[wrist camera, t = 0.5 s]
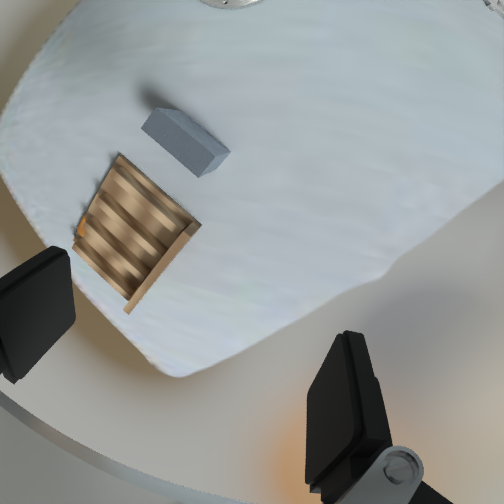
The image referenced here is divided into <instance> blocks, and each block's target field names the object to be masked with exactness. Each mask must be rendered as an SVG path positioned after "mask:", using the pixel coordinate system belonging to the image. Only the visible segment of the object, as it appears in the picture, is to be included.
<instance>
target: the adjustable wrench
mask: <svg viewBox="0 0 504 504" xmlns="http://www.w3.org/2000/svg"><path fill="white" fill-rule="evenodd" d="M484 2H485V3H486V4H487V7H488V8H490V9H491V10H492V11H495V12H497V13H498V14H499V15H500V16H501V17H502V18H503V19H504V0H484Z"/></svg>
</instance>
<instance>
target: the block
mask: <svg viewBox="0 0 504 504" xmlns="http://www.w3.org/2000/svg"><path fill="white" fill-rule="evenodd" d="M141 129H142V130H143V131H144V132H146V133H147V134H148V135H149V136H150V137H151V138H153V139H154V140H155V141H156V142H157V143H159V144H160V145H161V146H162V147H163V148H164V149H166V150H167V151H168V152H169V153H170V154H171V155H173V156H174V157H175V158H176V159H177V160H178V161H179V162H181V163H182V164H183V165H184V166H185V167H186V168H188V169H189V170H190V171H191V172H192V173H193V174H194V175H196V176H197V177H198V178H199V177H201V176H203V175H205V174H207V173H209V172H211V171H213V170H215V169H217V167H218V166H219V165H220V164H221V163H222V162H223V160H224V159H225V158H226V157H227V156H228V155H229V154H230V151H229V150H228V149H227V148H226V147H225V146H223V145H222V144H221V143H220V142H219V141H217V140H216V139H215V138H214V137H213V136H212V135H210V134H209V133H208V132H207V131H206V130H204V129H203V128H202V127H201V126H200V125H198V124H197V123H196V122H195V121H193V120H192V119H191V118H190V117H189V116H187V115H186V114H185V113H184V112H182V111H180V110H173V109H166V108H158V107H156V108H155V109H154V111H153V112H152V113H151V115H150V116H149V117H148V119H147V120H146V122H145V123H144V125H143V126H142V127H141Z"/></svg>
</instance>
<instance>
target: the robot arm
mask: <svg viewBox="0 0 504 504" xmlns="http://www.w3.org/2000/svg"><path fill="white" fill-rule="evenodd" d="M201 1H202V2H204V3H205V4H207V5H210V6H213V7H216V8H222V9H237V8H243V7H248V6H251V5H254V4H256V3H259V2H261V1H262V0H201ZM226 3H227V4H226ZM75 318H76V314H75V306H74V298H73V289H72V279H71V266H70V257H69V256H68V253H67V251H66V250H65V249H62V248H59V247H56V246H50V247H49V248H47V249H45V250H44V251H42V252H40V253H39V254H37V255H35V256H34V257H33V258H31V259H29V260H27V261H26V262H24V263H23V264H21V265H20V266H18V267H16V268H15V269H13V270H12V271H10V272H9V273H7V274H6V275H4V276H3V277H1V278H0V374H1V373H3V375H4V377H5V378H6V379H7V380H9V381H10V382H11V383H13V384H15V383H16V382H17V381H18V380H19V379H22V378H23V377H24V376H25V375H26V374H27V373H28V372H29V370H30V369H31V368H32V367H33V366H34V365H35V364H36V363H37V362H38V361H39V360H40V359H41V357H42V356H43V355H44V354H45V353H46V352H47V351H48V350H49V349H50V348H51V347H52V345H54V343H55V342H56V341H57V340H58V339H59V338H60V337H61V336H62V335H63V334H64V333H65V332H66V331H67V330H68V329H69V328H70V327H71V326H72V325H73V324H74V322H75ZM306 432H307V434H306V465H305V483H306V484H310V493H321V501H322V502H323V503H322V504H453V503H452V502H450V501H449V500H448V499H446V498H445V497H443V496H442V495H440V494H439V493H438V492H436V491H435V490H434V489H433V488H431V487H430V486H429V485H427V484H426V483H425V482H423V481H422V477H423V474H424V467H423V464H422V461H421V460H420V458H419V456H418V455H417V454H416V453H414V451H412V450H410V449H409V448H407V447H403V446H393V444H392V439H391V434H390V429H389V424H388V419H387V415H386V410H385V406H384V401H383V397H382V394H381V389H380V385H379V381H378V379H377V378H376V377H375V376H374V372H373V368H372V364H371V360H370V356H369V353H368V349H367V345H366V342H365V338H364V335H363V334H362V333H357V332H352V331H347V330H346V331H344V332H343V334H338V335H337V336H336V338H335V340H334V342H333V344H332V346H331V348H330V350H329V352H328V354H327V356H326V358H325V360H324V362H323V364H322V366H321V368H320V370H319V372H318V374H317V375H316V377H315V379H314V381H313V383H312V385H311V387H310V388H309V391H308V394H307V431H306ZM0 504H256V503H250V502H245V501H240V500H235V499H230V498H226V497H221V496H217V495H213V494H209V493H205V492H201V491H197V490H194V489H190V488H187V487H184V486H180V485H177V484H174V483H171V482H168V481H165V480H162V479H159V478H156V477H154V476H151V475H148V474H145V473H143V472H140V471H138V470H136V469H133V468H131V467H128V466H126V465H124V464H121V463H119V462H117V461H114V460H112V459H110V458H108V457H106V456H104V455H102V454H100V453H98V452H96V451H93V450H92V449H90V448H88V447H86V446H84V445H82V444H80V443H78V442H77V441H74V440H73V439H71V438H69V437H67V436H66V435H64V434H62V433H61V432H59V431H57V430H56V429H54V428H52V427H51V426H49V425H48V424H46V423H45V422H43V421H42V420H40V419H38V418H37V417H35V416H34V415H33V414H31V413H29V412H28V411H27V410H25V409H24V408H23V407H21V406H20V405H18V404H17V403H16V402H14V401H13V400H12V399H10V398H9V397H7V396H6V395H5V394H4V393H3V392H1V391H0Z"/></svg>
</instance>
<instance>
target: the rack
mask: <svg viewBox="0 0 504 504" xmlns="http://www.w3.org/2000/svg"><path fill="white" fill-rule="evenodd" d="M200 227H201V224H200V223H199V222H198V221H197V220H195V219H194V218H193V217H192V216H191V215H190V214H189V213H187V212H186V211H185V210H184V209H183V208H182V207H181V206H179V205H178V204H177V203H176V202H175V201H174V200H173V199H172V198H170V197H169V196H168V195H167V194H166V193H165V192H164V191H162V190H161V189H160V188H159V187H158V186H157V185H156V184H155V183H153V182H152V181H151V180H150V179H149V178H148V177H147V176H146V175H144V174H143V173H142V172H141V171H140V170H139V169H138V168H137V167H136V166H134V165H133V164H132V163H131V162H130V161H129V160H128V159H127V158H125V157H124V156H123V155H120V156H119V157H118V158H117V160H116V161H115V163H114V165H113V166H112V168H111V170H110V171H109V173H108V175H107V177H106V178H105V180H104V182H103V183H102V185H101V187H100V189H99V191H98V192H97V194H96V196H95V198H94V200H93V202H92V203H91V205H90V207H89V209H88V211H87V213H86V214H85V215H84V216H83V218H82V220H81V222H80V224H79V226H78V228H77V233H76V235H75V238H74V240H73V241H74V242H75V243H74V244H73V247H72V249H73V250H74V251H75V252H76V253H77V254H78V255H79V256H80V257H81V258H82V259H83V260H84V261H85V262H86V263H87V264H88V265H89V266H90V267H92V268H93V269H94V270H95V271H96V272H97V273H98V274H99V275H100V276H101V277H102V278H103V279H104V280H105V281H106V282H107V283H109V284H110V285H111V286H112V287H113V288H114V289H115V290H116V291H117V292H119V293H120V294H121V295H122V296H123V297H124V298H125V299H126V300H128V301H129V302H128V303H127V305H126V306H125V308H124V309H123V311H125V312H126V313H127V314H128V315H129V314H130V312H131V311H132V310H133V309H134V307H135V306H136V305H137V304H138V303H139V301H140V300H141V299H142V298H143V296H144V295H145V294H146V293H147V291H148V290H149V289H150V288H151V286H152V285H153V284H154V282H155V281H156V280H157V279H158V277H159V276H160V275H161V274H162V272H163V271H164V270H165V269H166V268H167V266H168V265H169V264H170V263H171V261H172V260H173V259H174V258H175V256H176V255H177V254H178V253H179V252H180V250H181V249H182V248H183V247H184V246H185V244H186V243H187V242H188V241H189V240H190V238H191V237H192V236H193V235H194V234H195V232H196V231H197V230H198V229H199V228H200Z"/></svg>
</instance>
